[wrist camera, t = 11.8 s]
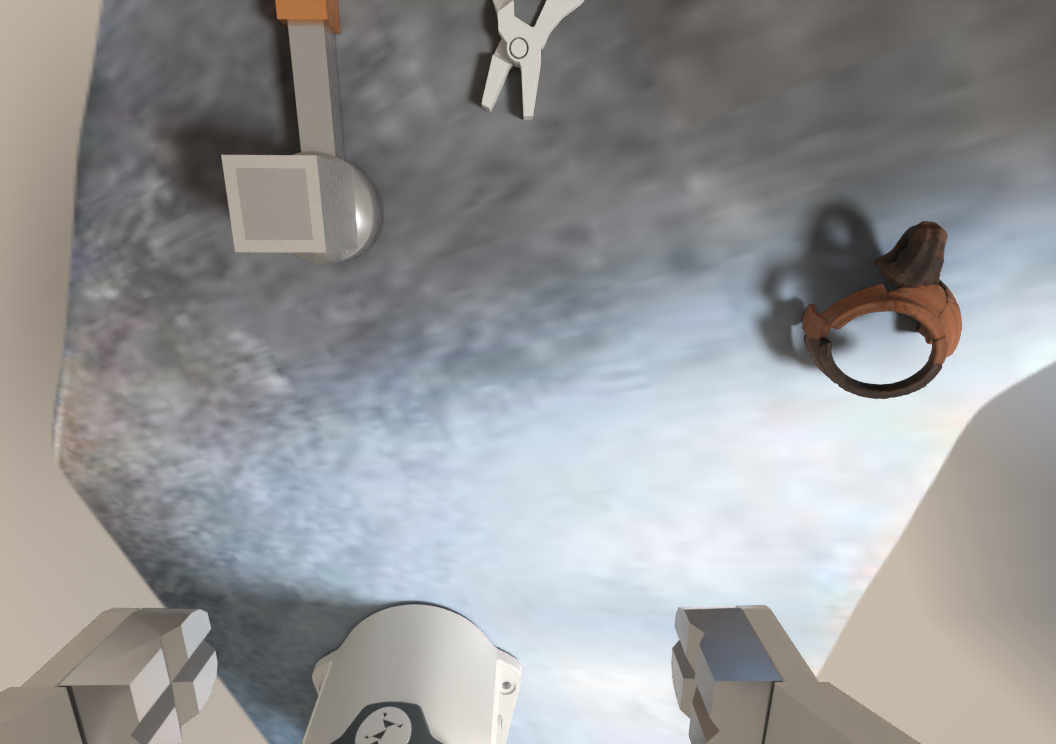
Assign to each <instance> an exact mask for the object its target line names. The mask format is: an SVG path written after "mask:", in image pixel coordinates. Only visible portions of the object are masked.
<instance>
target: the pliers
mask: <svg viewBox="0 0 1056 744" xmlns="http://www.w3.org/2000/svg"><path fill="white" fill-rule="evenodd" d="M492 1H493V4H494V7H495V10H496V13H497V16H498V31H499V35H500V37H501V40H500V43H499V45H498V47H497V49H496V52H495V54H493V56H492V61H491V65H490V69H489V73H488V78H487V82H486V86H485V90H484V95H483V99H482V103H481V104H482V107H483V108H484V109H486V110H488V111H489V112H491V110H492V108H493V106H494V104H495V102H496V99H497V97H498V95H499V93H500V91H501V88H502V86H503V84H504V82H505V80H506V78H507V75H508V73H509V71H510V69H511V68H512V67H513V66H515V67H518V68H519V67H520V69H521V73H522V95H523V119H524V120H532V119H533V112H534V106H535V99H536V92H537V86H538V79H539V72H540V65H541V49H543V48H544V45H545V43H546V41H547V39H548V36H549V34H550V32H551V31H552V30H553V29H554V28H555V27H556V25H557V24H558V23H559V22H560V21H561V20H562V19H563V18H564V17H565V16H566V15H568V14H569V13H570V12H572V11H573V10H574V9H576V8H577V7H579V6H580V5H581V4H582V3H583V2H584V1H585V0H547V1H546V3H545V5H544V7H543V9H542V12H541V14H540V16H539V18H538V20H537V22H536V25H535V27H530V26H529V25H527V24H525V23H524V22H522V21H521V20H519V19H518V18H516V17H515V16H514V2H513V0H492Z"/></svg>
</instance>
